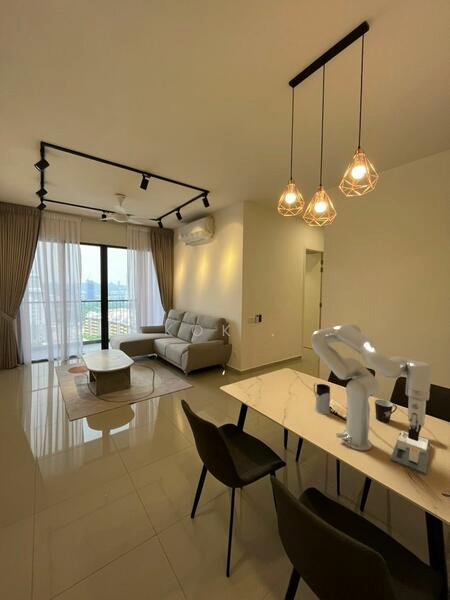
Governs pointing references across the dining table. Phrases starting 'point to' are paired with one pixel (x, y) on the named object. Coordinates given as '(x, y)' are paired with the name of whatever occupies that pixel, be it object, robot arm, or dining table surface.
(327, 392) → the grey black pitcher
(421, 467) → the panel
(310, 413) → the dining table surface
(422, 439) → the socket tray
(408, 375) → the robot arm
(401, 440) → the toggle
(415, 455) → the toggle tagged
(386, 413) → the coffee mug
